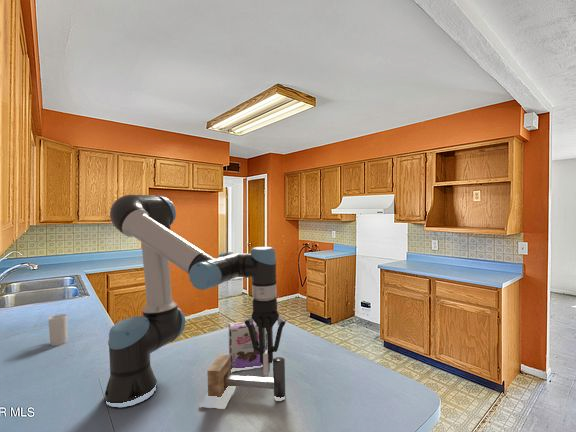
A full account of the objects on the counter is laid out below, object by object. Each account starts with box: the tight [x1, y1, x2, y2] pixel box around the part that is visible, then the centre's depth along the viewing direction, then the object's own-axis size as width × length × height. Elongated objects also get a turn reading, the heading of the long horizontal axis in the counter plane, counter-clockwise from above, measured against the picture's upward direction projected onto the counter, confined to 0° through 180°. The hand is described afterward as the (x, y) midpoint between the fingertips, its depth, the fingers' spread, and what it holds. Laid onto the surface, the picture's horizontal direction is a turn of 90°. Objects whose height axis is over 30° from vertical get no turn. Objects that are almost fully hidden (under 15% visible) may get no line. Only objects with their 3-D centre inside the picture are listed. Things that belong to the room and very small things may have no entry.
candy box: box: [228, 321, 268, 369], centre depth 117 cm, size 14×6×16 cm, turn 105°
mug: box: [48, 313, 68, 347], centre depth 142 cm, size 10×7×12 cm, turn 64°
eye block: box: [206, 354, 233, 397], centre depth 100 cm, size 8×14×10 cm, turn 171°
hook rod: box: [224, 356, 286, 398], centre depth 98 cm, size 20×4×12 cm, turn 81°
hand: (266, 372), depth 97 cm, fingers closed
